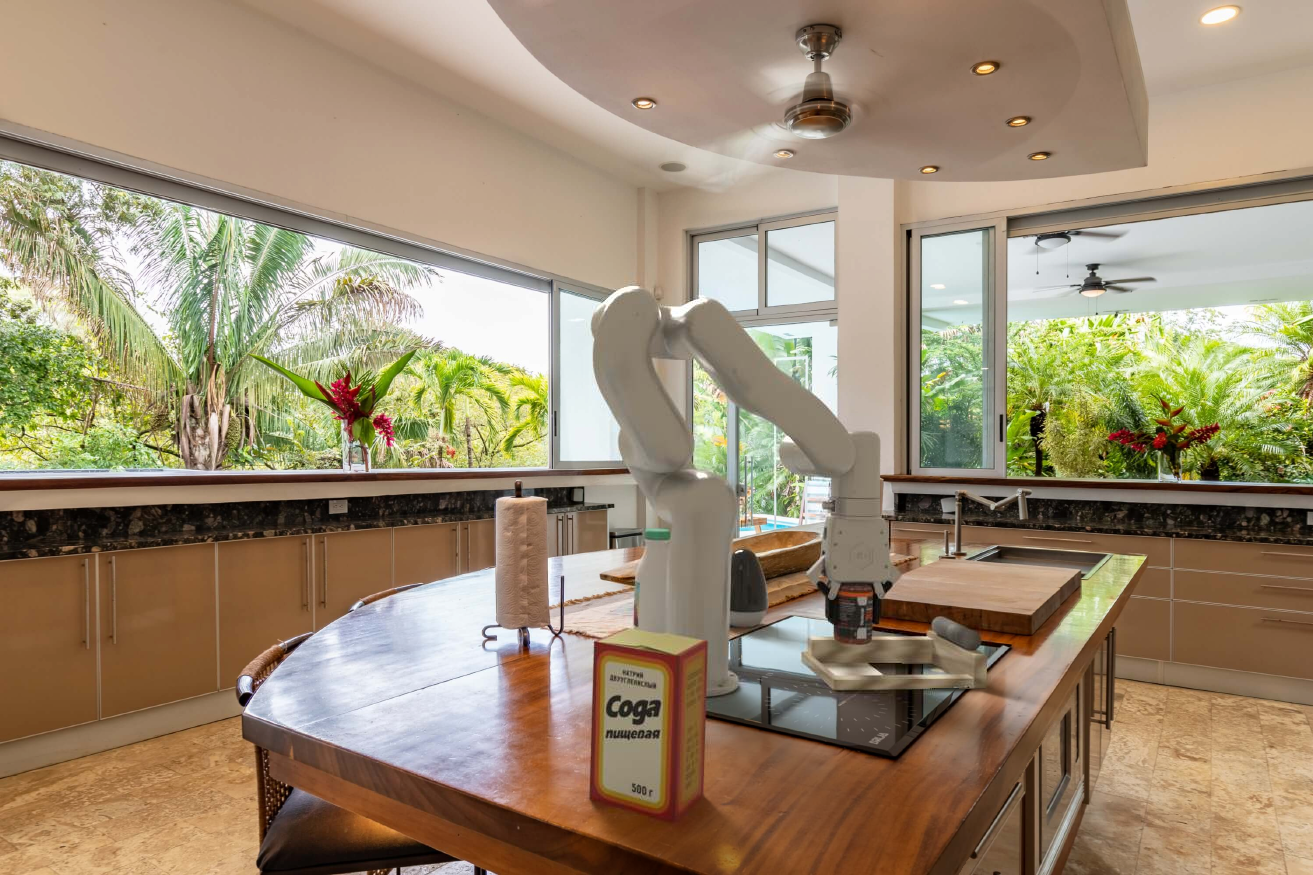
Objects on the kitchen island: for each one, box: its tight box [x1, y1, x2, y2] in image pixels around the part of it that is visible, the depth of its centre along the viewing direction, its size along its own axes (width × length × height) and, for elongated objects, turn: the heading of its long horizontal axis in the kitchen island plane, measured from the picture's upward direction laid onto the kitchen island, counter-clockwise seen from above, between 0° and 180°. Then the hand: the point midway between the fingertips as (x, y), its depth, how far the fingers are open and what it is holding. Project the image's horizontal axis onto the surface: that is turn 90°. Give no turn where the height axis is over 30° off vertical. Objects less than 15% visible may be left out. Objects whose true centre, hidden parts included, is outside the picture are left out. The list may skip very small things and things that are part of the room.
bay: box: [800, 616, 988, 691], centre depth 121 cm, size 24×15×8 cm, turn 97°
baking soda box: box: [588, 627, 708, 824], centre depth 76 cm, size 10×6×16 cm
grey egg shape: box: [729, 547, 769, 629], centre depth 152 cm, size 10×10×15 cm
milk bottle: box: [632, 528, 671, 634], centre depth 137 cm, size 8×8×20 cm
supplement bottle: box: [833, 583, 873, 645], centre depth 120 cm, size 6×6×11 cm
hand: (853, 621), depth 120 cm, fingers closed on supplement bottle, 6 cm apart
